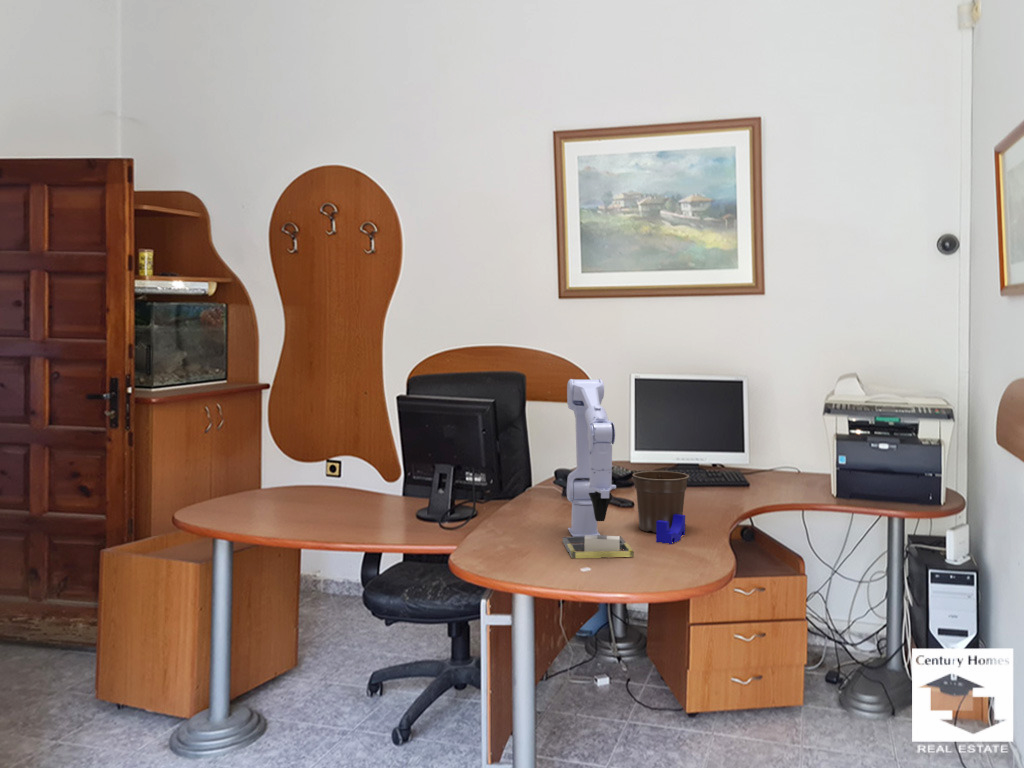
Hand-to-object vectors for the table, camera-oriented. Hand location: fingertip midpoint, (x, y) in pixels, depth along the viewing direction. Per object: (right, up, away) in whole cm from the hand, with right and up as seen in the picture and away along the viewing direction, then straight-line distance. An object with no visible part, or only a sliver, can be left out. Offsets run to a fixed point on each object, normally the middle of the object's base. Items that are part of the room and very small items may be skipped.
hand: (599, 520), depth 229 cm
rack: (0, -8, +4) cm, 10 cm away
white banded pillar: (+1, -9, +1) cm, 9 cm away
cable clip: (+22, -8, +17) cm, 29 cm away
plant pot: (+20, -7, +29) cm, 36 cm away
